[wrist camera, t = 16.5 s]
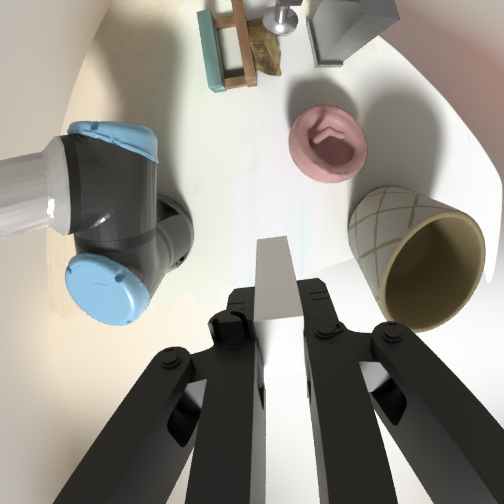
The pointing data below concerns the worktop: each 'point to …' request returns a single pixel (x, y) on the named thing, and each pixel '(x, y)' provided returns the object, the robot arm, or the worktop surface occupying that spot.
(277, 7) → the ram
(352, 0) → the press frame
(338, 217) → the worktop surface
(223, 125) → the worktop surface
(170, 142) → the worktop surface
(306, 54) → the worktop surface
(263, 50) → the rock
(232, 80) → the frame
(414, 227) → the planter
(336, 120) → the mortar and pestle
